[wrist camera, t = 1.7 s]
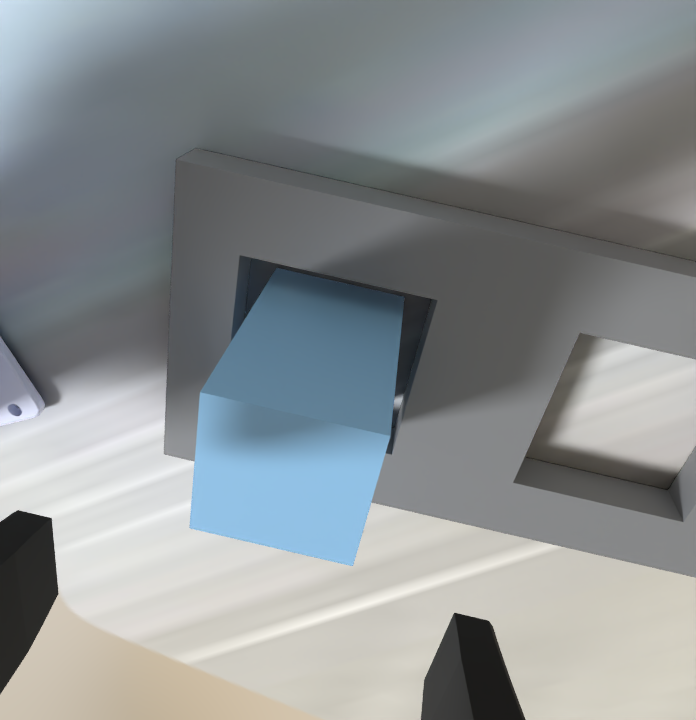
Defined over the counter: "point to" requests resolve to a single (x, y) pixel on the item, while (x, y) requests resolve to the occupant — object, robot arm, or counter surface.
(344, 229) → the holder plate
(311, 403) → the plug
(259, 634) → the counter surface
